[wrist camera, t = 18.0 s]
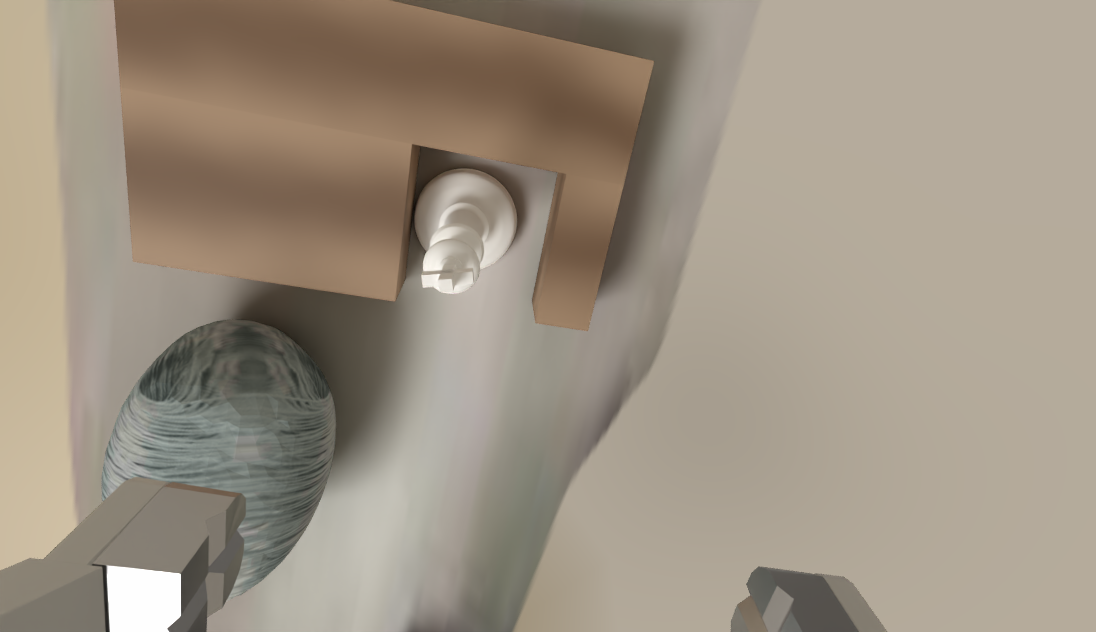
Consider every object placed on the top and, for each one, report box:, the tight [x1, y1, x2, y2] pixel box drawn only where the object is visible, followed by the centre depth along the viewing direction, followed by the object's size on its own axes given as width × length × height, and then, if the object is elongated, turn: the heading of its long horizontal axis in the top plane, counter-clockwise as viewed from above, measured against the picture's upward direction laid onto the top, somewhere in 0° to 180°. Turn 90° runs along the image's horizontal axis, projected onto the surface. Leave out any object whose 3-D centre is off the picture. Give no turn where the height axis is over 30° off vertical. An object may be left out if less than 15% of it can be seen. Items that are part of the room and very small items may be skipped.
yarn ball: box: [102, 320, 336, 601], centre depth 27 cm, size 14×10×10 cm
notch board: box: [114, 0, 654, 331], centre depth 25 cm, size 12×20×3 cm, turn 78°
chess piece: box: [415, 168, 517, 294], centre depth 23 cm, size 5×5×10 cm
